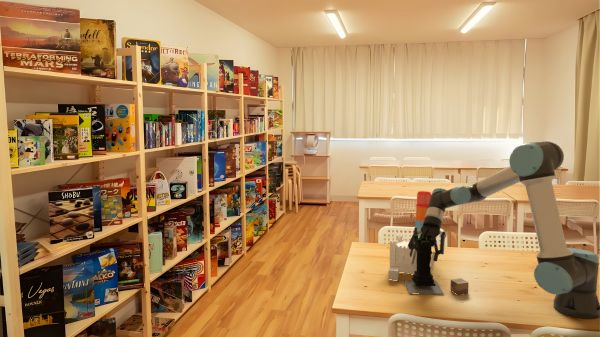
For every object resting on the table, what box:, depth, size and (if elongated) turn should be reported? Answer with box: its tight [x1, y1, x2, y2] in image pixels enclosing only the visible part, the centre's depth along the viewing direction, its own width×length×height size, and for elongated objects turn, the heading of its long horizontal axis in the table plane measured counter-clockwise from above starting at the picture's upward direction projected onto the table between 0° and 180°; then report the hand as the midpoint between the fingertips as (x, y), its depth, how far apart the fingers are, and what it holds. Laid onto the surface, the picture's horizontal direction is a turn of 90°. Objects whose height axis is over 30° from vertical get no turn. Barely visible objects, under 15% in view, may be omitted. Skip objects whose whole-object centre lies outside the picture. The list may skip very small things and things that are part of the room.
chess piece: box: [411, 235, 435, 286], centre depth 188 cm, size 8×8×20 cm
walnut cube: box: [449, 277, 469, 296], centre depth 184 cm, size 5×5×5 cm
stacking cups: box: [414, 190, 433, 258], centre depth 224 cm, size 10×10×35 cm
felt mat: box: [403, 279, 445, 295], centre depth 190 cm, size 14×14×1 cm
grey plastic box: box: [388, 265, 400, 281], centre depth 200 cm, size 6×4×5 cm, turn 161°
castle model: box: [389, 233, 420, 274], centre depth 212 cm, size 14×14×15 cm
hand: (421, 265), depth 185 cm, fingers closed on chess piece, 8 cm apart
